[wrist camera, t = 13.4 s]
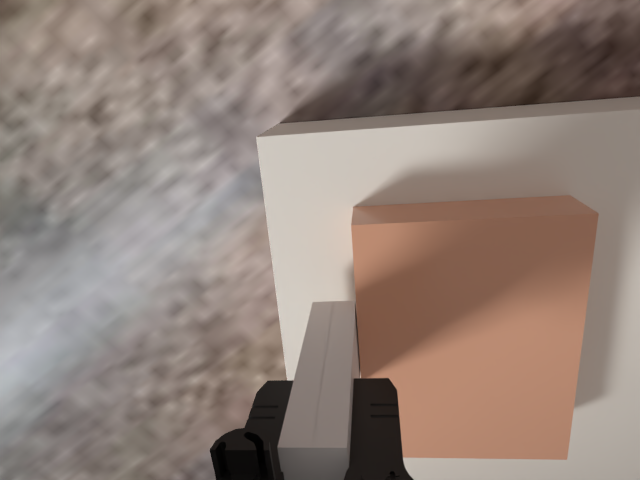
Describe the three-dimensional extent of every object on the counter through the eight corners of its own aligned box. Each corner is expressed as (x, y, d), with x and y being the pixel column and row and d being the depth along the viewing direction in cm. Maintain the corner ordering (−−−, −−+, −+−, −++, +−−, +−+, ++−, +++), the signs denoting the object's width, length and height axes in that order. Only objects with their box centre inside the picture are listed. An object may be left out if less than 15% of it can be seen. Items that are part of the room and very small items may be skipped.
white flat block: (586, 598, 27) (622, 685, 23) (329, 586, 28) (323, 664, 25) (673, 94, 17) (758, 100, 13) (278, 123, 19) (256, 136, 15)
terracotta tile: (546, 419, 18) (567, 459, 16) (366, 418, 19) (365, 456, 17) (569, 195, 15) (598, 213, 13) (353, 206, 16) (350, 225, 14)
